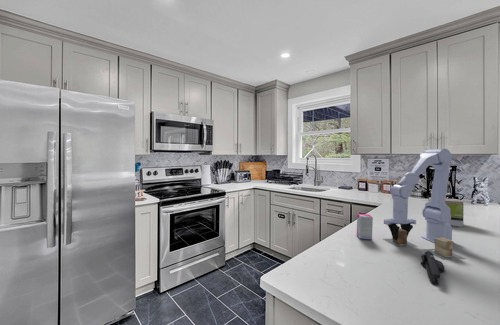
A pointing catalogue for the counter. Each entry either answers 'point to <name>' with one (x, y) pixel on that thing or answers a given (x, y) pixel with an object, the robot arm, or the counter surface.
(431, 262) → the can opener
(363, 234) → the supplement box
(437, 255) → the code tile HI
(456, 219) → the tea box
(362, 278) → the counter surface
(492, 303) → the counter surface
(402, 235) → the walnut block
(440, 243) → the oak block
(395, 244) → the tile
